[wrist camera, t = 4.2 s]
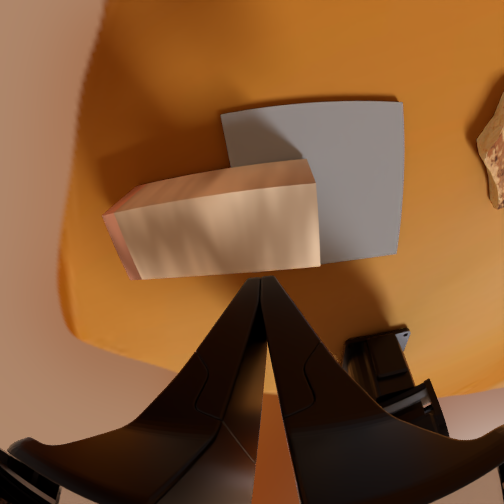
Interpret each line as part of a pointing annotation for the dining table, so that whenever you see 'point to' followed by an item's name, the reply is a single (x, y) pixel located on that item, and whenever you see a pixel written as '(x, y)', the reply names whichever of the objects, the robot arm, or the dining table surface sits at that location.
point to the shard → (494, 154)
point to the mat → (334, 166)
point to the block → (219, 222)
